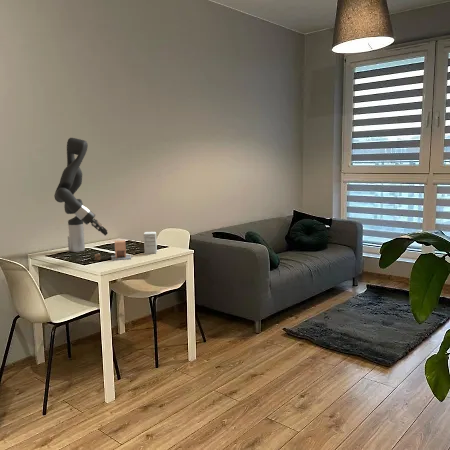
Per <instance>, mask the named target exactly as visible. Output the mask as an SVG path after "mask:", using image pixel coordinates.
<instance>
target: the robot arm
mask: <svg viewBox="0 0 450 450" xmlns="http://www.w3.org/2000/svg"><path fill="white" fill-rule="evenodd" d="M87 151H88V142H87V141H86V140H83V139H81V138H76V137H69V138H68V139H67V142H66V167H65V168H64V169H63V171H62V173H61V177H60V180H59V183H58V185H57V187H56V189H55V192H54V200H55V201H56V202H57V203H64V204H63V205H64V206H63V207H64V212H65V214H67V215H73V214H74V215H75V216H74V217H73V218H71V219H68V220H67V226H68V227H67V228H68V236H67V247H68V252H74V253H79V252H83V251H85V250H86V246H85V232H84V231H85V230H84V229H85V227H84V224H85V225H88V224H89V223H90V224H91V227H93V228H94V229H95V230H97V231H98V232H99V233H101V234H102V235H104V236H107V235H108V233H109V232H108V229H106V228H105V227H104V226H103V224H102V223H101V222H100V221H98V219H96V214H95V213H94V212H92V211H91V210H90V209H89V208H88V207H87V206H85V205H84V204H83V201H82V199H80V198H76V196H75V193H76V192H77V191H78V190H79V189H80V187H81V185H82V183H83V171H82V169H81V168H80V167H81V165H82V163H83V160H84V158H85V156H86V155H87ZM75 155H76V158H75Z"/></svg>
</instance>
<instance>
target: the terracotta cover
mask: <svg viewBox="0 0 450 450" xmlns="http://www.w3.org/2000/svg"><path fill="white" fill-rule="evenodd" d="M114 254H115V255H114V256H115V257H116V258H117V257H119V256H124V257H125V258H126V255H127V247H126V240H124V239H122V240H114Z"/></svg>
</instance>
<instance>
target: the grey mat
mask: <svg viewBox="0 0 450 450" xmlns="http://www.w3.org/2000/svg"><path fill="white" fill-rule="evenodd" d="M110 257H111V261H112V262H113V261H122V260H123V261H125V260H132V256H131V254H126V258H125V257H124V256H119V257H117V258H116V257H115V255H111V256H110Z"/></svg>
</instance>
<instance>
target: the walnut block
mask: <svg viewBox="0 0 450 450" xmlns="http://www.w3.org/2000/svg"><path fill="white" fill-rule="evenodd" d="M101 259H102V258H101V254H100V253H99V254H98V253H97V254H94V260H95V261H101Z"/></svg>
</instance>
